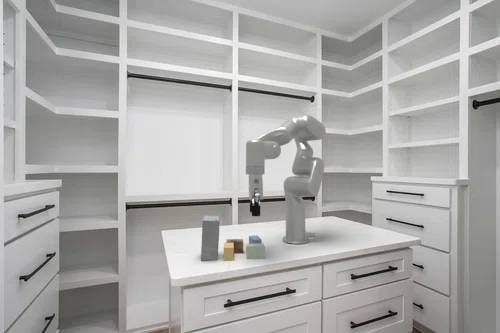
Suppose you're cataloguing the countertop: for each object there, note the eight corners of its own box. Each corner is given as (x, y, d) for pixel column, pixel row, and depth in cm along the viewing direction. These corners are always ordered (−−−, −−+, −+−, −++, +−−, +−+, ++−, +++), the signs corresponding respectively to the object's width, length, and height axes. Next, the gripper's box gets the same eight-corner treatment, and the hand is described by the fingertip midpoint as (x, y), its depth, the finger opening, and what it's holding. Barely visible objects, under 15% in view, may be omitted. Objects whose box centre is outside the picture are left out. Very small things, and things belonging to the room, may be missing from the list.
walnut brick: (242, 250, 109) (242, 239, 109) (243, 253, 105) (243, 241, 105) (226, 251, 108) (226, 239, 108) (226, 254, 104) (226, 241, 105)
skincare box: (202, 254, 104) (202, 215, 104) (219, 253, 105) (220, 215, 105) (200, 261, 96) (200, 219, 96) (219, 260, 96) (219, 219, 96)
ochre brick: (224, 254, 103) (224, 242, 103) (233, 254, 104) (233, 242, 104) (223, 261, 96) (223, 247, 96) (233, 260, 97) (233, 247, 97)
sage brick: (263, 255, 102) (263, 243, 102) (264, 258, 99) (264, 246, 99) (246, 256, 102) (246, 243, 102) (246, 259, 98) (246, 246, 98)
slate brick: (248, 246, 114) (248, 235, 114) (257, 246, 115) (257, 235, 115) (253, 251, 107) (253, 239, 108) (261, 251, 108) (261, 239, 108)
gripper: (267, 171, 92) (267, 217, 92) (261, 171, 110) (261, 210, 109) (247, 170, 92) (246, 218, 91) (244, 171, 109) (244, 210, 109)
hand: (254, 214), depth 100 cm, fingers open, 9 cm apart
